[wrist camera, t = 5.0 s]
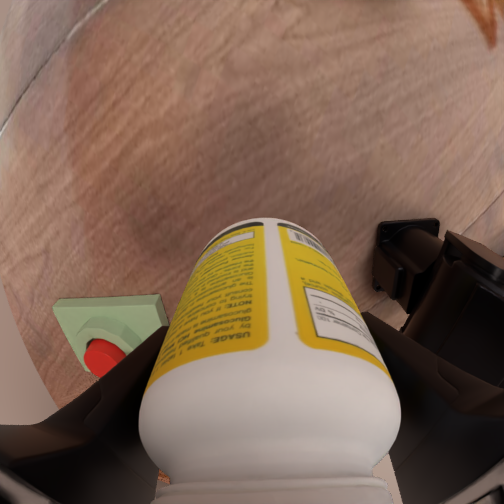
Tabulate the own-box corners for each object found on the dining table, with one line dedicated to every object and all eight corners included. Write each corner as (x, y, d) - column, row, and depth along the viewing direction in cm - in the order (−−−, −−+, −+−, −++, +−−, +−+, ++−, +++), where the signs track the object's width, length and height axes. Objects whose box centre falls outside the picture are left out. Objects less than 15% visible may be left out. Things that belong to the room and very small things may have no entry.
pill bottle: (200, 330, 14) (149, 549, 4) (193, 211, 11) (19, 492, 1) (321, 334, 14) (365, 550, 4) (342, 218, 11) (517, 477, 1)
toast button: (118, 338, 22) (111, 351, 20) (133, 369, 23) (128, 382, 22) (83, 337, 22) (76, 349, 20) (100, 367, 23) (94, 379, 22)
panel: (160, 293, 23) (149, 317, 20) (183, 365, 27) (178, 390, 24) (59, 298, 24) (42, 317, 20) (90, 361, 27) (80, 382, 24)
